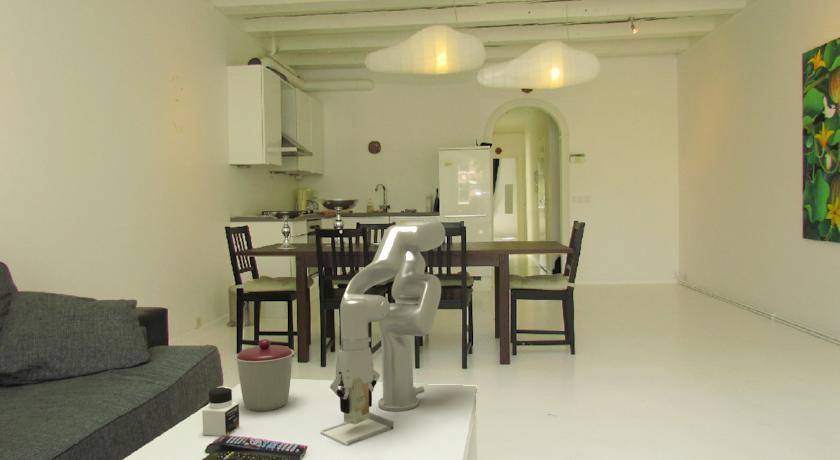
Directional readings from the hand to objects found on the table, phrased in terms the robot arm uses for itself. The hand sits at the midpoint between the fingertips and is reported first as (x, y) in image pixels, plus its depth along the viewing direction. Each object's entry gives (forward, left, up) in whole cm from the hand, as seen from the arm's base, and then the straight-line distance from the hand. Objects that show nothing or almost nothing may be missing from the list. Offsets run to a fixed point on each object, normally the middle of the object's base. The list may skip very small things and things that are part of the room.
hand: (356, 408), depth 153 cm
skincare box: (0, 0, -3) cm, 3 cm away
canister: (+7, -38, -7) cm, 39 cm away
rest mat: (0, 0, -6) cm, 6 cm away
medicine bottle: (+26, -28, -7) cm, 39 cm away
